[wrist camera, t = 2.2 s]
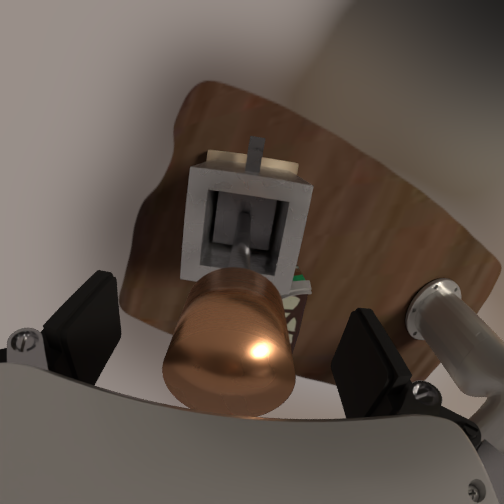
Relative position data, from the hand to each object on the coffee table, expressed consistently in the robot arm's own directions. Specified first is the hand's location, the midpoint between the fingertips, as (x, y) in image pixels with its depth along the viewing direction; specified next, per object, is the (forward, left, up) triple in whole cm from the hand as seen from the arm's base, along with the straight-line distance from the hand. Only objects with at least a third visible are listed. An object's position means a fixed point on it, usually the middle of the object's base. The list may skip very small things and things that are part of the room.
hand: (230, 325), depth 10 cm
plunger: (0, 0, -17) cm, 17 cm away
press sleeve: (0, -1, -26) cm, 26 cm away
